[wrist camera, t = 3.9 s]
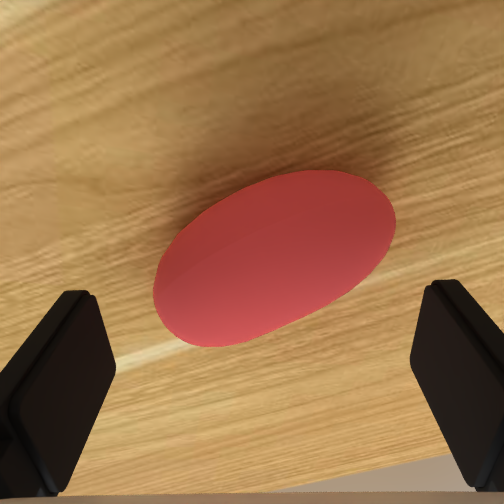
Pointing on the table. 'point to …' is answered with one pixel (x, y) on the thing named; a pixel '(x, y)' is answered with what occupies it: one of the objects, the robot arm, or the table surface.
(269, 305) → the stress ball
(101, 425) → the table surface
